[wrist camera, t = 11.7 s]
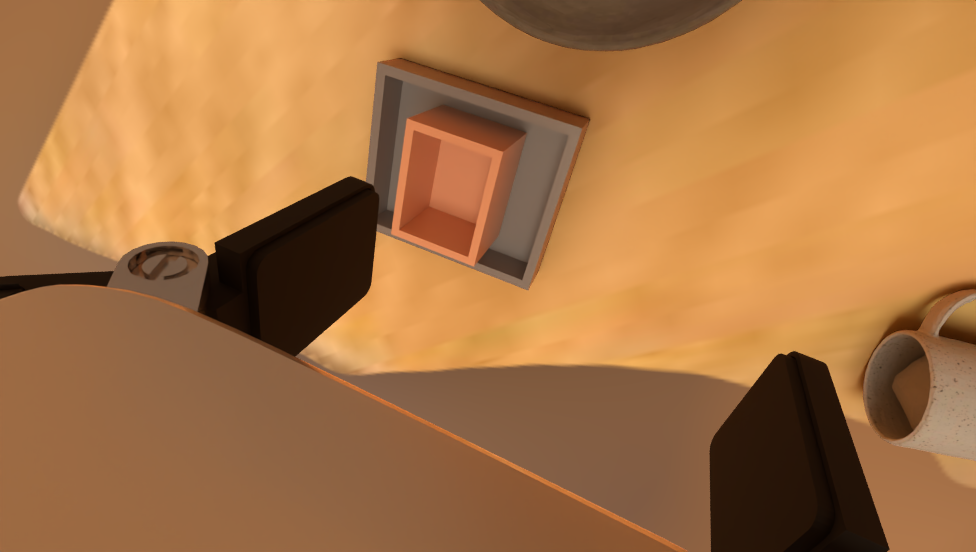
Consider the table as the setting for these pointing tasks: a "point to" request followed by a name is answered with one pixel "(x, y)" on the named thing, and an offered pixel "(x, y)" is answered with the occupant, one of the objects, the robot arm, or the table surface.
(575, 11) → the bowl
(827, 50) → the table surface
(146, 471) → the robot arm
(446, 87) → the tray
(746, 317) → the table surface
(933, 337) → the ceramic mug
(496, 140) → the crate small
